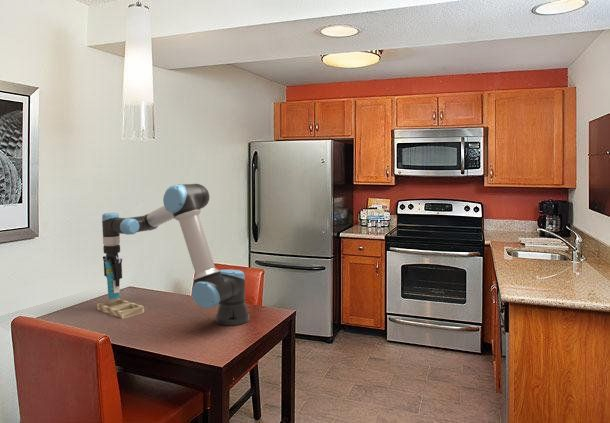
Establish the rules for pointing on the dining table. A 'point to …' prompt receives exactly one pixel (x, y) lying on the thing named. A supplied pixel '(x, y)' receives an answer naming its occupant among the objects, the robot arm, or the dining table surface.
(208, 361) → the dining table surface
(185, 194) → the robot arm
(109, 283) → the tube
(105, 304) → the wooden compartment tray
